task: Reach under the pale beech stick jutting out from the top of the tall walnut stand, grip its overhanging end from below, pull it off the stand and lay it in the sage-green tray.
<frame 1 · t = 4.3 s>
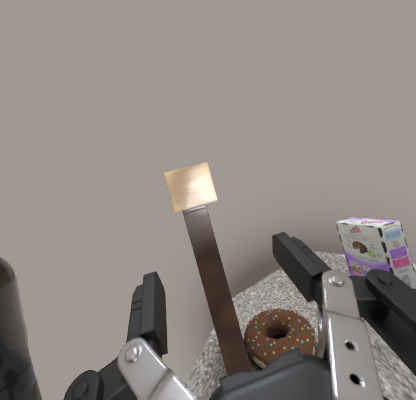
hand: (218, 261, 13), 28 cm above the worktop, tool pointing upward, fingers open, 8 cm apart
candy box: (380, 282, 50), on the worktop
beech stick: (193, 206, 30), point 32 cm above the worktop, touching walnut stand
walnut stand: (238, 373, 35), on the worktop
donut: (280, 348, 38), on the worktop
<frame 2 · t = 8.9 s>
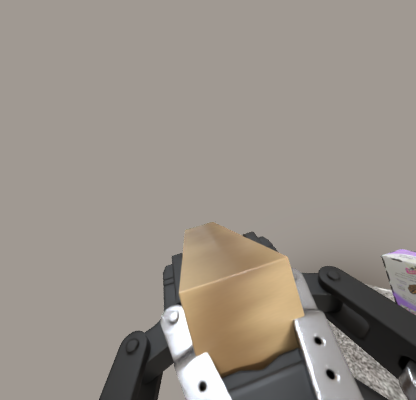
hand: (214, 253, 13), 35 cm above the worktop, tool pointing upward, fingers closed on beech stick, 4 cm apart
beech stick: (217, 276, 18), point 32 cm above the worktop, touching gripper, walnut stand
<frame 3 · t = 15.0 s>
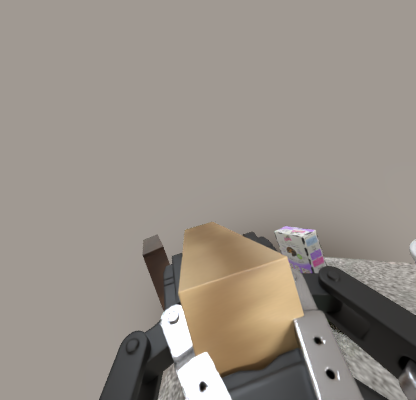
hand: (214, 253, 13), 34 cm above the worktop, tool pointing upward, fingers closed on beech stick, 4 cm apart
candy box: (307, 276, 64), on the worktop
beech stick: (217, 276, 18), point 31 cm above the worktop, tilted 6°, touching gripper
walnut stand: (202, 379, 41), on the worktop
when the fingers open (9 cm above the worktop, at t = 21.1 s): beech stick drops 4 cm, resting on tray.
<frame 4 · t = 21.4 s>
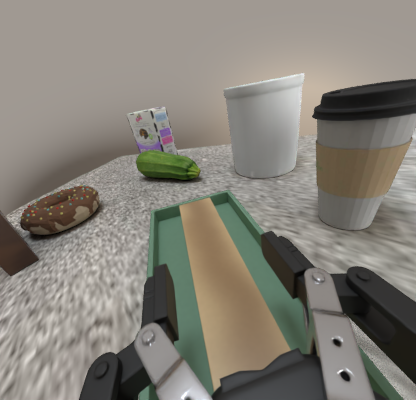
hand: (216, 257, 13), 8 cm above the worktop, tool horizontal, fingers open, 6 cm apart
utensil holder: (264, 167, 45), on the worktop
candy box: (160, 161, 66), on the worktop
beech stick: (220, 285, 19), point 1 cm above the worktop, touching tray
tray: (215, 276, 21), on the worktop
walnut stand: (14, 250, 33), on the worktop
coffee cup: (344, 217, 25), on the worktop
vegetable: (171, 178, 50), on the worktop
donut: (69, 218, 40), on the worktop
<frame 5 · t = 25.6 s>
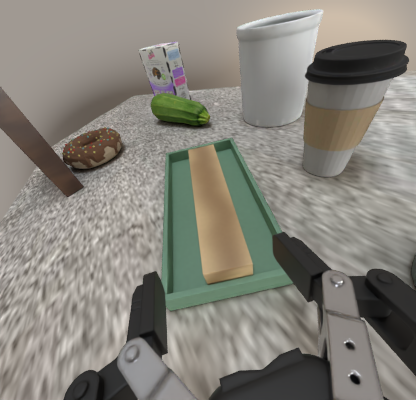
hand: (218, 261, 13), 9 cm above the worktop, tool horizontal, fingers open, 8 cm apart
utensil holder: (272, 115, 47), on the worktop
candy box: (173, 104, 68), on the worktop
beech stick: (214, 209, 27), point 1 cm above the worktop, touching tray
tray: (212, 203, 29), on the worktop
walnut stand: (63, 179, 43), on the worktop
coffee cup: (323, 166, 31), on the worktop
vegetable: (183, 122, 54), on the worktop
donut: (99, 156, 48), on the worktop
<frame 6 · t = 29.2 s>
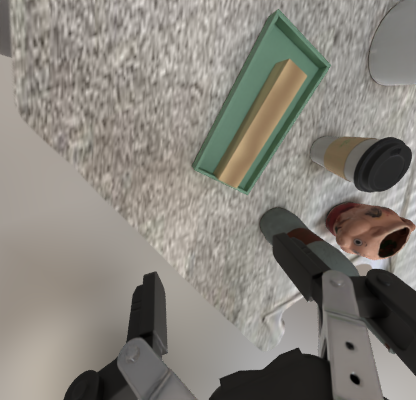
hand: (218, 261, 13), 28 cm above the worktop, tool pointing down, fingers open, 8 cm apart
vodka: (273, 220, 50), on the worktop
utensil holder: (396, 47, 38), on the worktop
beech stick: (250, 128, 37), point 1 cm above the worktop, touching tray
decorative planter: (343, 213, 55), on the worktop
tray: (253, 118, 37), on the worktop
coffee cup: (320, 149, 44), on the worktop
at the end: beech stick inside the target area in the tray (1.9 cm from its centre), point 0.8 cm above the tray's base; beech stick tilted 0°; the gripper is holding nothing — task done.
